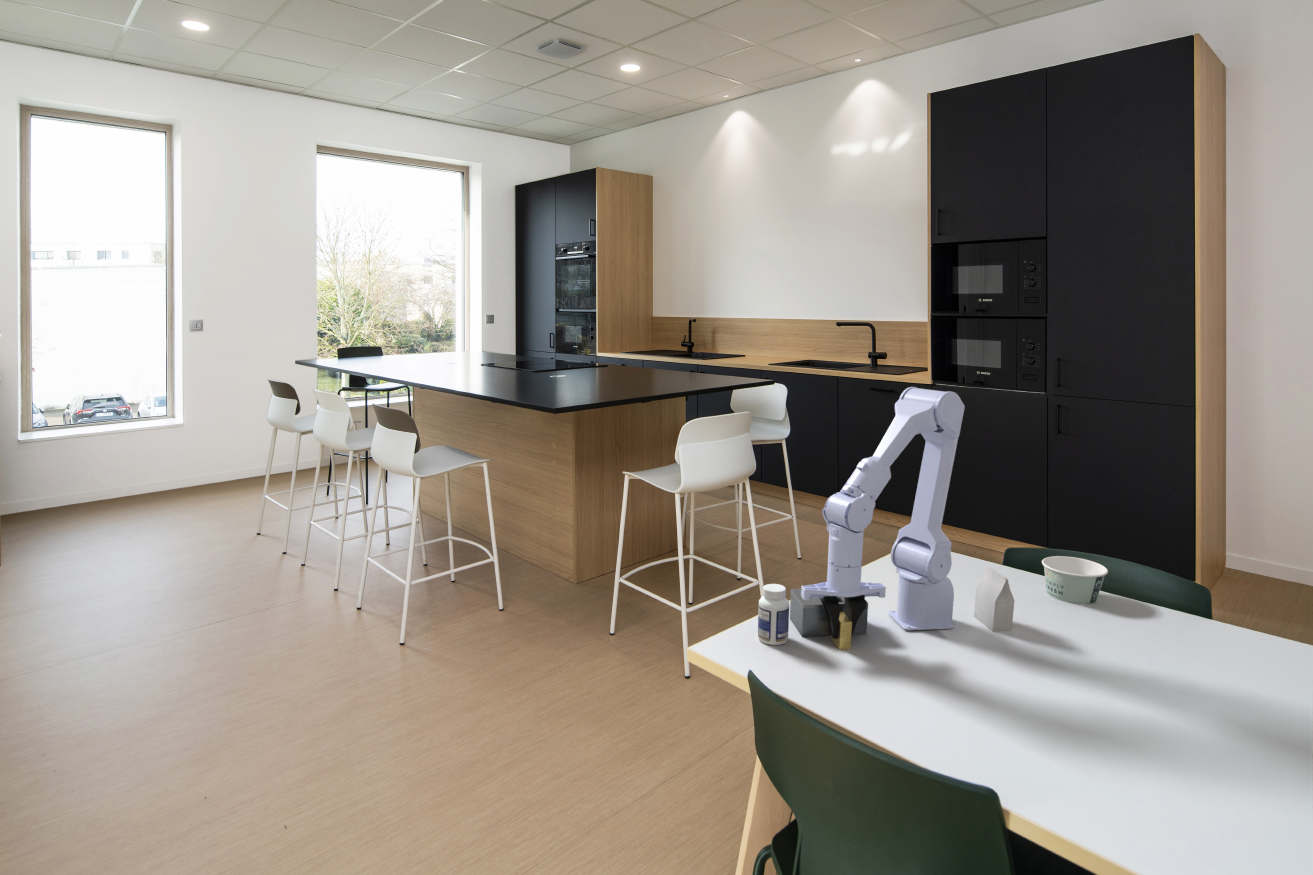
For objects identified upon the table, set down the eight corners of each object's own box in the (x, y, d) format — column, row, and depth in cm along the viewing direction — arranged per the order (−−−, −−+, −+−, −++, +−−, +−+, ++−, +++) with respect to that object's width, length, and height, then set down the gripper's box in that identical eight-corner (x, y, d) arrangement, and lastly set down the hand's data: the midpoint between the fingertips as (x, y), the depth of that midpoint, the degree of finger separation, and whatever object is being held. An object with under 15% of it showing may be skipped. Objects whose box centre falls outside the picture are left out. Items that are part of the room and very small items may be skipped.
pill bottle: (787, 633, 138) (788, 582, 136) (789, 646, 132) (791, 593, 131) (757, 632, 138) (758, 581, 137) (757, 645, 133) (759, 592, 131)
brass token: (841, 637, 136) (843, 611, 135) (850, 649, 132) (852, 621, 131) (830, 638, 136) (832, 611, 135) (839, 649, 131) (840, 622, 131)
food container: (1025, 590, 160) (1028, 560, 159) (1065, 581, 165) (1068, 552, 164) (1078, 610, 149) (1081, 579, 148) (1118, 601, 154) (1121, 570, 153)
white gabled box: (992, 631, 139) (997, 579, 137) (973, 616, 146) (978, 567, 144) (1011, 630, 140) (1016, 579, 138) (992, 616, 146) (996, 566, 144)
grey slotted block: (850, 616, 145) (852, 586, 144) (866, 634, 138) (868, 602, 137) (789, 618, 144) (790, 588, 143) (802, 636, 136) (803, 605, 135)
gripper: (876, 553, 136) (872, 624, 138) (797, 555, 134) (794, 627, 137) (892, 566, 129) (887, 641, 131) (809, 569, 127) (805, 645, 130)
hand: (840, 635), depth 134 cm, fingers closed on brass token, 2 cm apart
